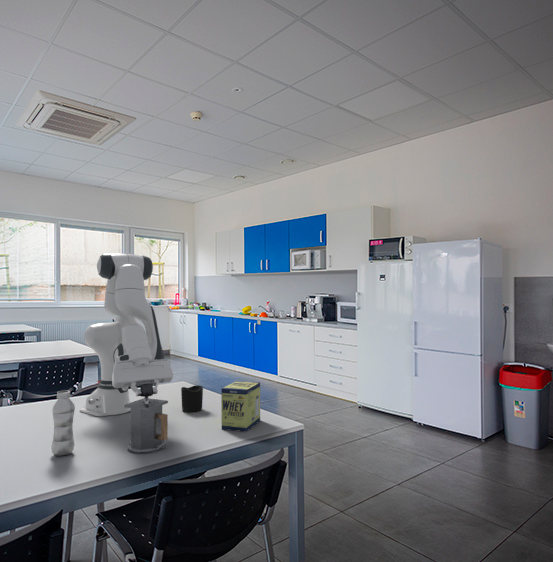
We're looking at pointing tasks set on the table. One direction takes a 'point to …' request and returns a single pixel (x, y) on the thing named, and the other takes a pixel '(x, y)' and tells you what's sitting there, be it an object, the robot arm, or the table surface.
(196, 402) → the pen holder
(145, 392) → the plunger
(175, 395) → the table surface
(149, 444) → the press carafe
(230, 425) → the protein box
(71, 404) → the plastic bottle
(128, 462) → the table surface
